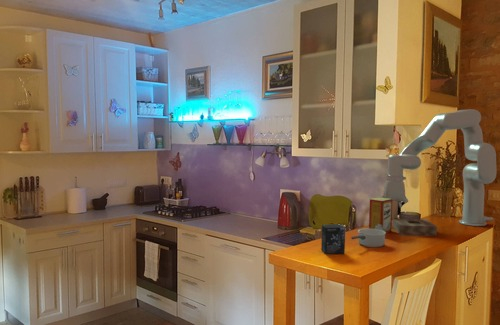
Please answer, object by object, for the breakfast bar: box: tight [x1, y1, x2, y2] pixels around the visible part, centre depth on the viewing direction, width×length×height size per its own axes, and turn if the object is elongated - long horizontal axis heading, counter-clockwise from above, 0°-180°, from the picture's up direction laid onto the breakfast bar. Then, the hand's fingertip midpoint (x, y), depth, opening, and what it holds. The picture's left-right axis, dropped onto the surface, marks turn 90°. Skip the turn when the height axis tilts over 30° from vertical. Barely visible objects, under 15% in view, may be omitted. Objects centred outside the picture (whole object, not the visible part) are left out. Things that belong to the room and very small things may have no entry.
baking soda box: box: [368, 197, 393, 234], centre depth 198 cm, size 10×6×16 cm
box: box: [320, 223, 346, 255], centre depth 163 cm, size 8×6×11 cm
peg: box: [392, 201, 399, 221], centre depth 213 cm, size 4×4×12 cm
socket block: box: [392, 218, 438, 237], centre depth 199 cm, size 16×16×4 cm
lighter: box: [375, 220, 391, 231], centre depth 189 cm, size 7×2×8 cm, turn 43°
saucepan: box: [351, 228, 387, 248], centre depth 173 cm, size 12×20×6 cm, turn 133°
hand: (393, 214), depth 214 cm, fingers closed on peg, 4 cm apart
